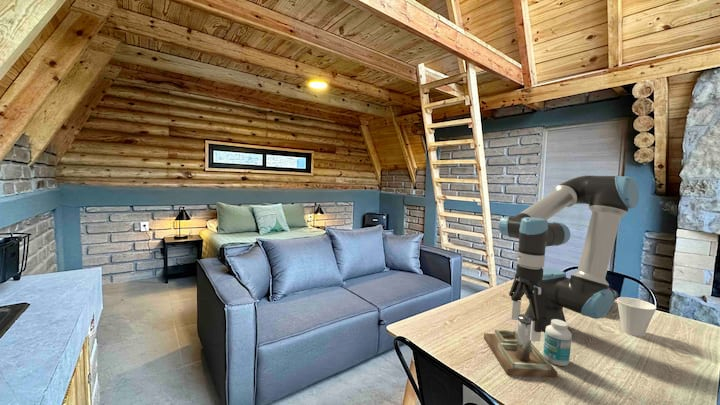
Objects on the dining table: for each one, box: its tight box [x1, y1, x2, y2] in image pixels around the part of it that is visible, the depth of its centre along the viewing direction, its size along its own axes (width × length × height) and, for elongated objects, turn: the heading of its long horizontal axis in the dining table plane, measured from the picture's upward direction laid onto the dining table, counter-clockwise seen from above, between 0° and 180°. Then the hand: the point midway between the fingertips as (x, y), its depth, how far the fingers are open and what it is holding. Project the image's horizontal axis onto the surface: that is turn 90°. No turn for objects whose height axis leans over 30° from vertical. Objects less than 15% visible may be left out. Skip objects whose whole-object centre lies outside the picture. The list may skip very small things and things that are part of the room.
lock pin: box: [516, 313, 533, 362], centre depth 98 cm, size 5×5×14 cm
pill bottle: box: [542, 319, 573, 367], centre depth 101 cm, size 8×7×14 cm
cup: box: [616, 296, 657, 337], centre depth 121 cm, size 12×12×12 cm
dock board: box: [483, 329, 558, 379], centre depth 103 cm, size 15×21×4 cm
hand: (524, 329), depth 98 cm, fingers open, 13 cm apart
